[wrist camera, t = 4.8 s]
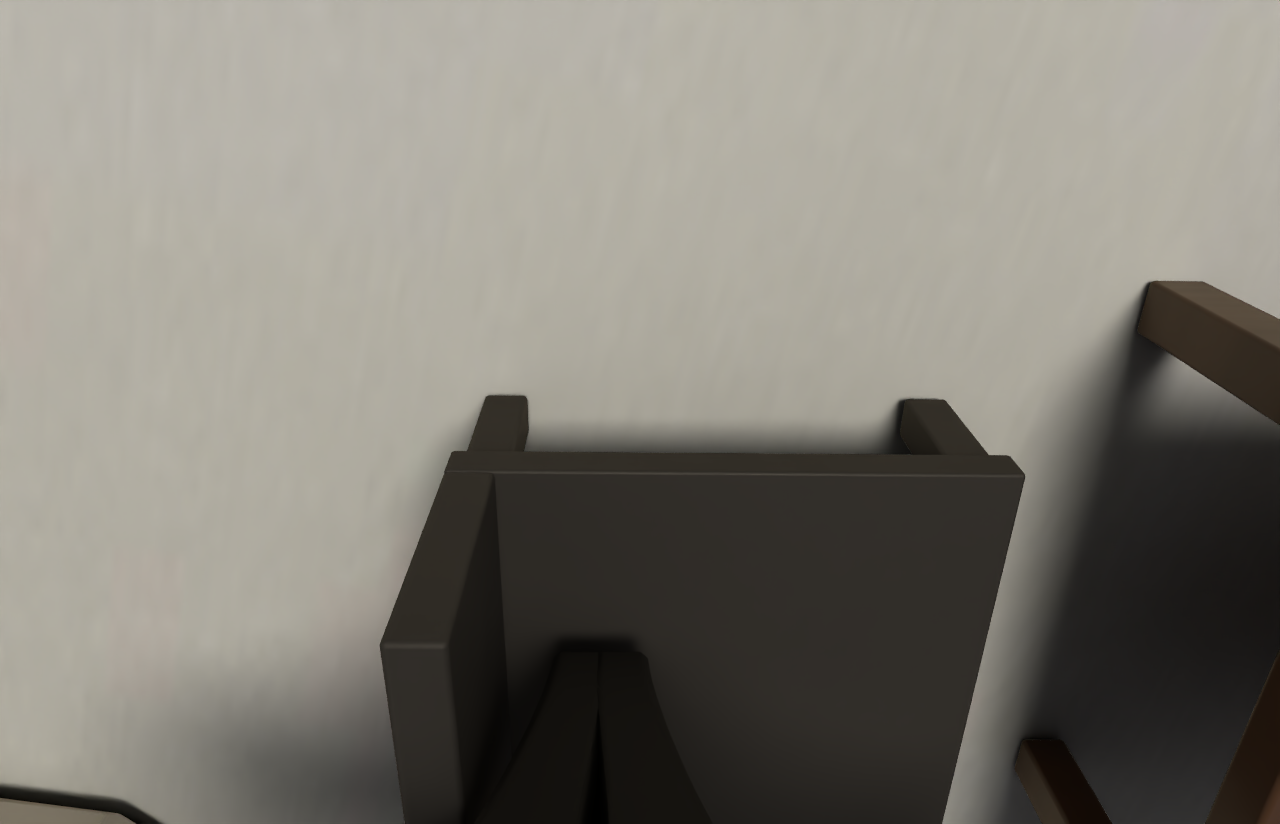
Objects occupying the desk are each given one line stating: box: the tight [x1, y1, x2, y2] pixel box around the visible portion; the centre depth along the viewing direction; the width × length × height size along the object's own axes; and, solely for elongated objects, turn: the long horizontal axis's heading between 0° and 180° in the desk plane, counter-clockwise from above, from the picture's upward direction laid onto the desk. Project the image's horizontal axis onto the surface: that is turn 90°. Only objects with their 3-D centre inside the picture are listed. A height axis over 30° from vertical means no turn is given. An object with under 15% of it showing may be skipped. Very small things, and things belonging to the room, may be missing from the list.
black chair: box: [380, 396, 1025, 824], centre depth 13 cm, size 8×7×6 cm
